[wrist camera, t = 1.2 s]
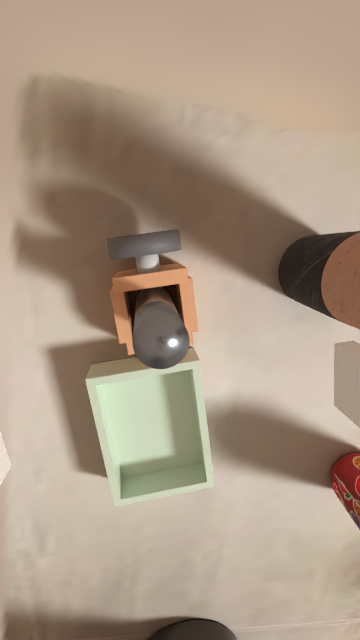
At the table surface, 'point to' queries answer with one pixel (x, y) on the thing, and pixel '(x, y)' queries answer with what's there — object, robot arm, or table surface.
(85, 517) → the table surface
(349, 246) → the travel mug
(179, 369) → the tray
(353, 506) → the smoothie
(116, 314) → the block
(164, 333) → the pin
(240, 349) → the table surface
